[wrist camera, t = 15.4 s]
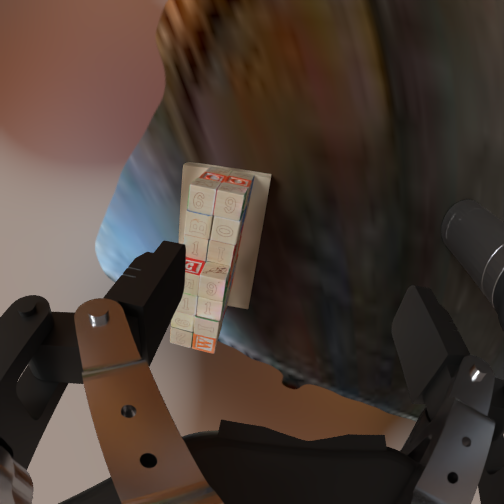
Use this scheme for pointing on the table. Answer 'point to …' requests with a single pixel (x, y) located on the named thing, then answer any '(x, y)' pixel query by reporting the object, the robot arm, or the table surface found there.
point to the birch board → (249, 233)
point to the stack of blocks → (210, 255)
